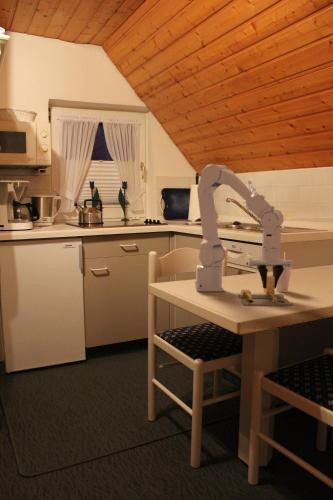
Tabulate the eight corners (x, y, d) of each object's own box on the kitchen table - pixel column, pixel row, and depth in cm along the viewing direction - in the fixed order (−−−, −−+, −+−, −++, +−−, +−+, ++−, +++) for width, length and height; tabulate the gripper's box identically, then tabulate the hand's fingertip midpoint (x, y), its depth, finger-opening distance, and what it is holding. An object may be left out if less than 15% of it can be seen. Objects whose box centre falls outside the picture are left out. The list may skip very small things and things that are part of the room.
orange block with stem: (270, 301, 133) (271, 281, 132) (263, 294, 142) (264, 275, 141) (279, 301, 133) (279, 281, 132) (271, 294, 142) (272, 275, 141)
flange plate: (244, 305, 130) (244, 303, 130) (240, 300, 136) (240, 298, 136) (291, 305, 131) (292, 303, 130) (286, 301, 136) (286, 299, 136)
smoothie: (278, 293, 146) (280, 253, 143) (269, 289, 152) (271, 251, 150) (295, 292, 147) (297, 253, 145) (285, 288, 153) (286, 250, 151)
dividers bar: (242, 303, 133) (242, 296, 132) (237, 296, 141) (237, 289, 141) (289, 303, 133) (290, 296, 132) (281, 296, 142) (281, 289, 141)
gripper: (251, 248, 133) (250, 290, 135) (297, 249, 134) (294, 290, 136) (247, 245, 140) (245, 285, 142) (290, 246, 141) (288, 285, 143)
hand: (269, 287), depth 139 cm, fingers closed on orange block with stem, 3 cm apart
